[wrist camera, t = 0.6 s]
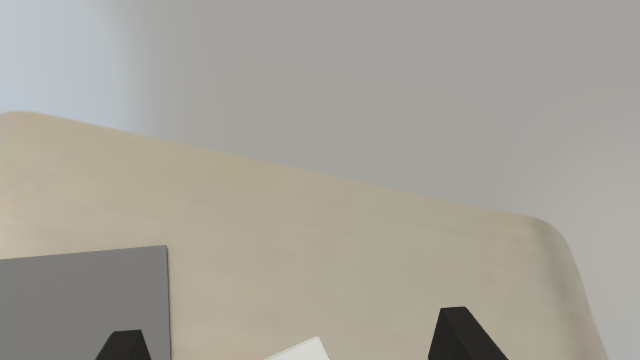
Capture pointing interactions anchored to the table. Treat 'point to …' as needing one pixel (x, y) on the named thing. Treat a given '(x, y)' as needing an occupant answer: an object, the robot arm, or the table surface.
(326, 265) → the table surface
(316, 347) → the skincare box
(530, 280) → the table surface
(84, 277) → the mat
